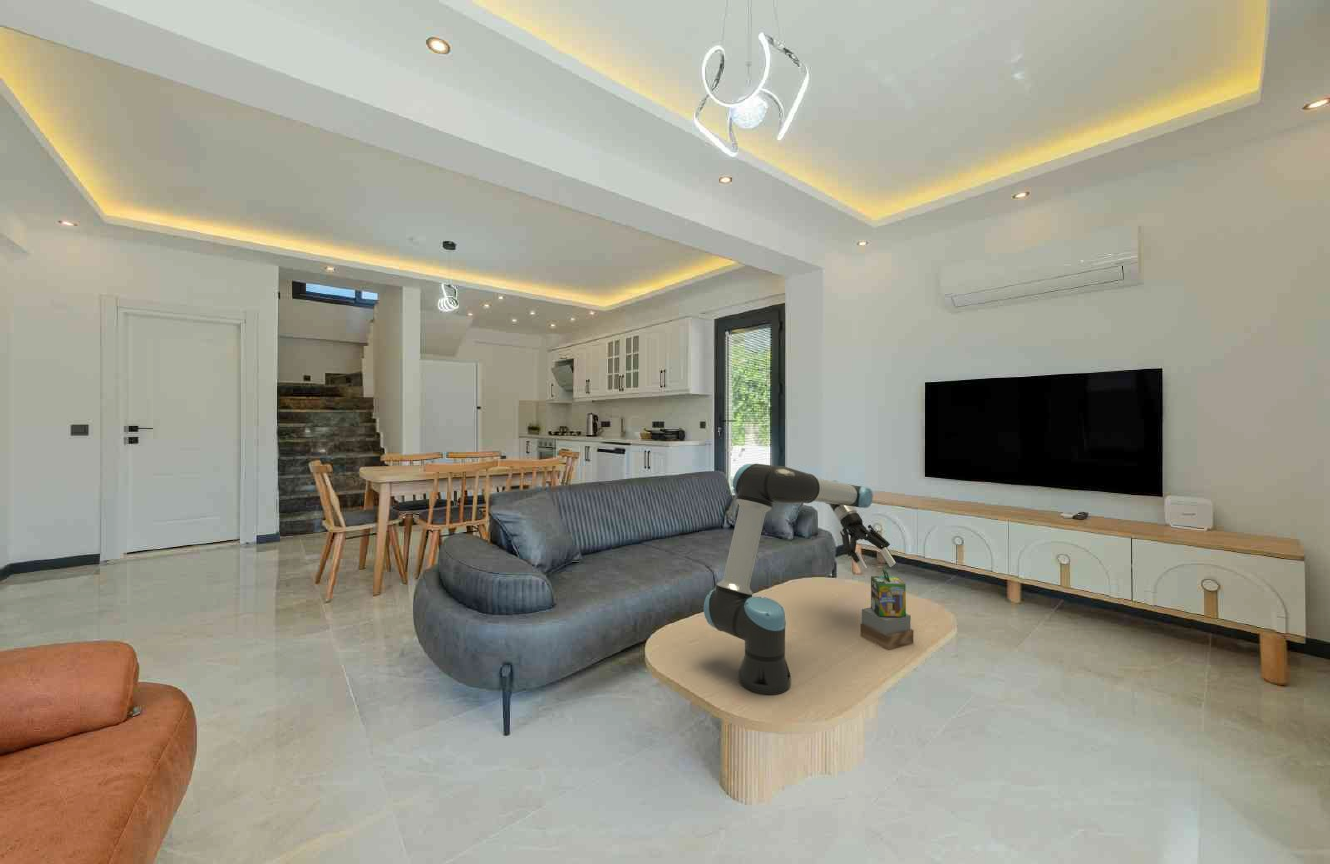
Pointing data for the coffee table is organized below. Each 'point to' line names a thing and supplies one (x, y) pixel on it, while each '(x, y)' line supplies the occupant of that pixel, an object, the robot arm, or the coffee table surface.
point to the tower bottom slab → (887, 637)
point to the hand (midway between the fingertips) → (879, 567)
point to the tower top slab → (885, 622)
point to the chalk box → (888, 596)
